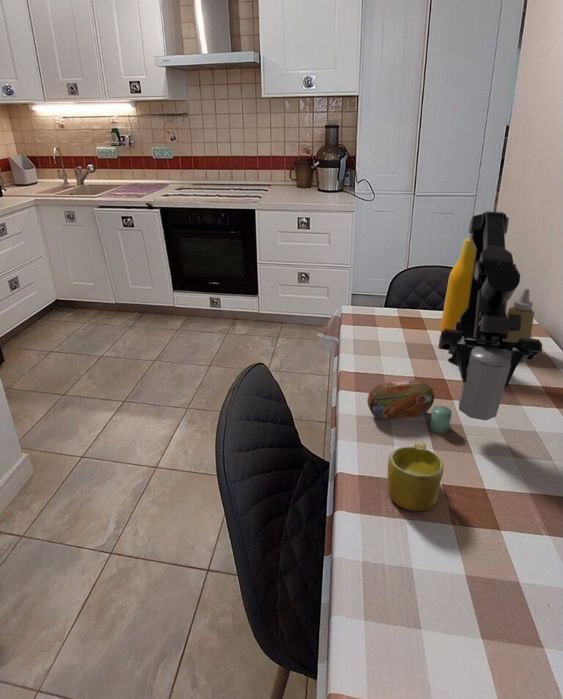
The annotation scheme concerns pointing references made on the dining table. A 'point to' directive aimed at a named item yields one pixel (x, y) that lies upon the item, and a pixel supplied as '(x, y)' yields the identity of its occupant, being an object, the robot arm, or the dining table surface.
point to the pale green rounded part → (440, 419)
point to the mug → (414, 477)
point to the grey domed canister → (484, 382)
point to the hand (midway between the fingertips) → (484, 385)
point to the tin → (400, 399)
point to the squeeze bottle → (527, 315)
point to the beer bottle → (458, 287)
